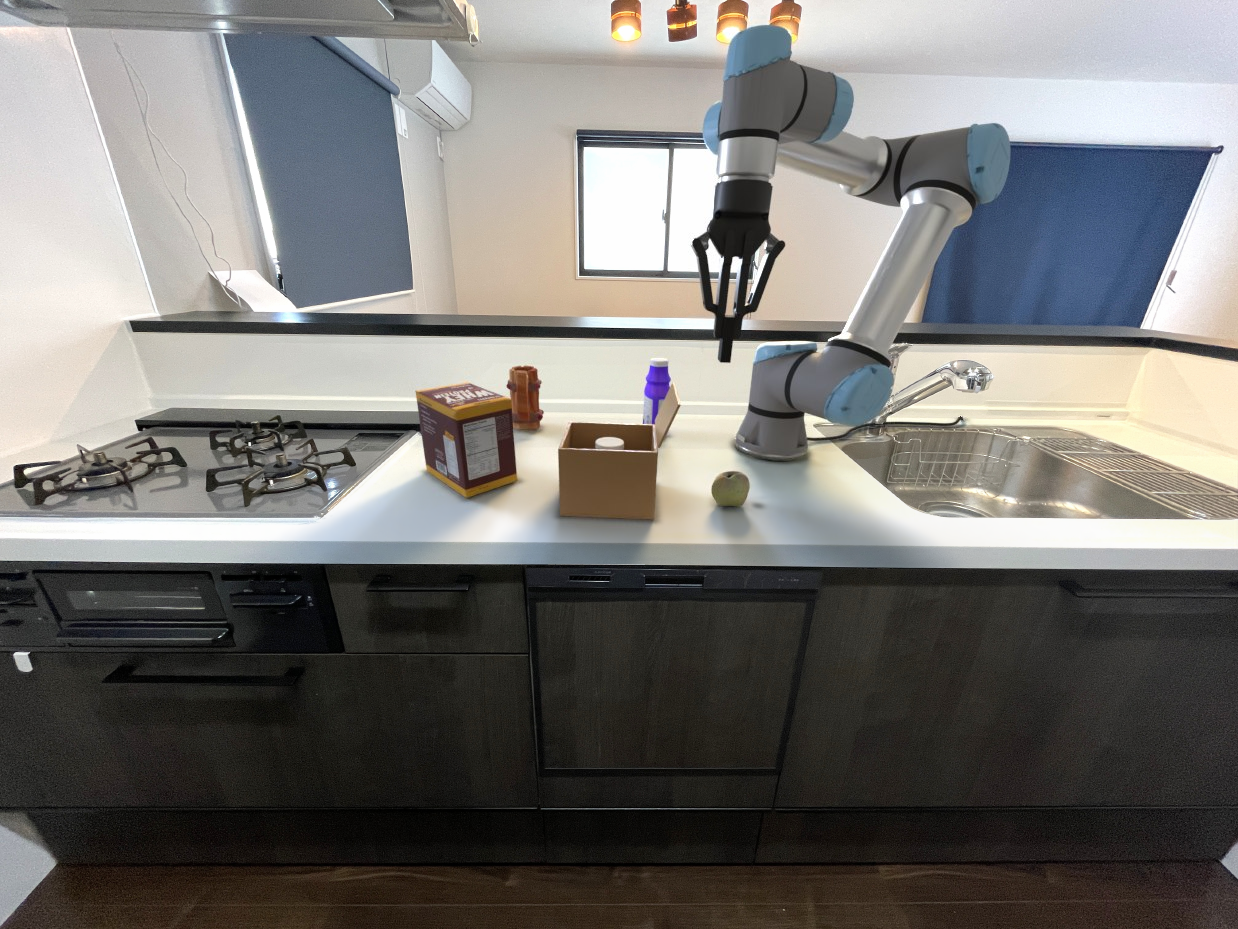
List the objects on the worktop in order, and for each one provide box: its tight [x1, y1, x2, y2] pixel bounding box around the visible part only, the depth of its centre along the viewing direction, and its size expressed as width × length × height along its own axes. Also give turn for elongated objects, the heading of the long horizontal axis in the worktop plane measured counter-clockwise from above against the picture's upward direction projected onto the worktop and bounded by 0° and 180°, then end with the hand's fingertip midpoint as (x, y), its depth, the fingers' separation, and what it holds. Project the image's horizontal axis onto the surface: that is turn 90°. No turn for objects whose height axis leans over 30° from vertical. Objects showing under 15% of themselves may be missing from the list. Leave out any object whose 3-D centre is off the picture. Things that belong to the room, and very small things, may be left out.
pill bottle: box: [595, 437, 624, 450], centre depth 82 cm, size 6×6×10 cm
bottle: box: [642, 357, 672, 425], centre depth 112 cm, size 7×6×17 cm
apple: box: [710, 470, 751, 508], centre depth 82 cm, size 6×8×6 cm
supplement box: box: [414, 381, 518, 499], centre depth 88 cm, size 10×15×16 cm
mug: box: [505, 364, 545, 431], centre depth 111 cm, size 15×8×15 cm, turn 6°
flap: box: [655, 382, 682, 450], centre depth 78 cm, size 7×13×1 cm
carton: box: [557, 421, 659, 520], centre depth 82 cm, size 15×13×12 cm
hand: (723, 360), depth 74 cm, fingers closed
